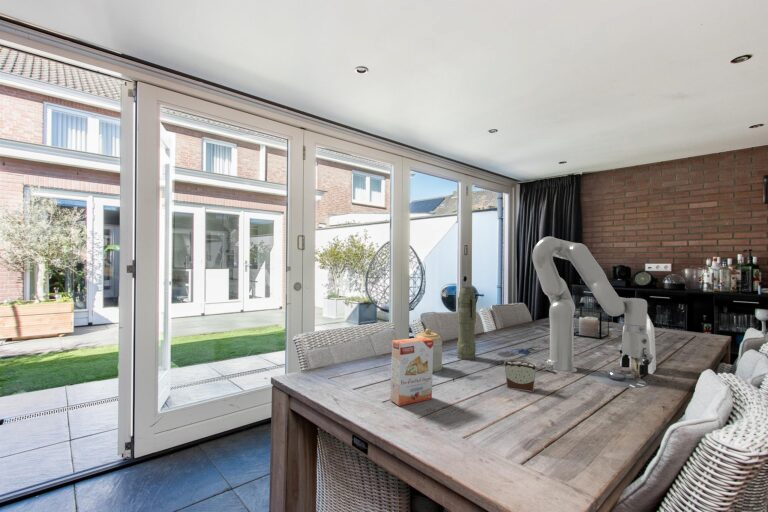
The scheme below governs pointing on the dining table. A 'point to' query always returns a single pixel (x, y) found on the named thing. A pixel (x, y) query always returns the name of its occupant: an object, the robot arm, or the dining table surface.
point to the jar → (434, 348)
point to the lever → (622, 376)
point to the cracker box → (411, 370)
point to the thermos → (466, 324)
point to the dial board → (627, 383)
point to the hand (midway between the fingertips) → (634, 370)
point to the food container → (520, 374)
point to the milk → (652, 346)
